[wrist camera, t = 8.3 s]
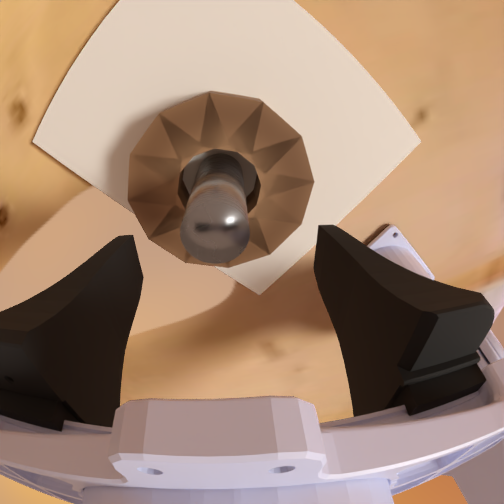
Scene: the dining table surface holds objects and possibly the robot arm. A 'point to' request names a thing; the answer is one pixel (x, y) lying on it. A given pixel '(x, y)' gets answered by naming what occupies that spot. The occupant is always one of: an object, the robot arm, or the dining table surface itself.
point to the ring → (226, 138)
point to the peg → (216, 212)
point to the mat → (235, 82)
